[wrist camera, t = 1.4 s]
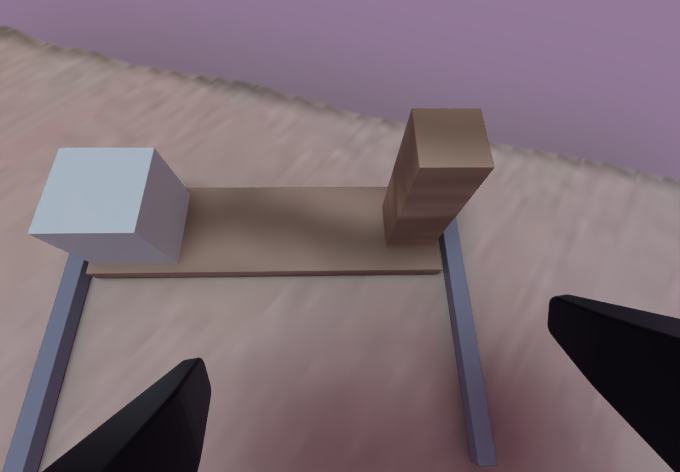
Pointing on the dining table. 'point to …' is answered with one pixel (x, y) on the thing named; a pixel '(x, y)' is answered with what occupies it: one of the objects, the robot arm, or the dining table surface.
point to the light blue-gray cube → (113, 207)
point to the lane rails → (66, 316)
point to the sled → (337, 214)
